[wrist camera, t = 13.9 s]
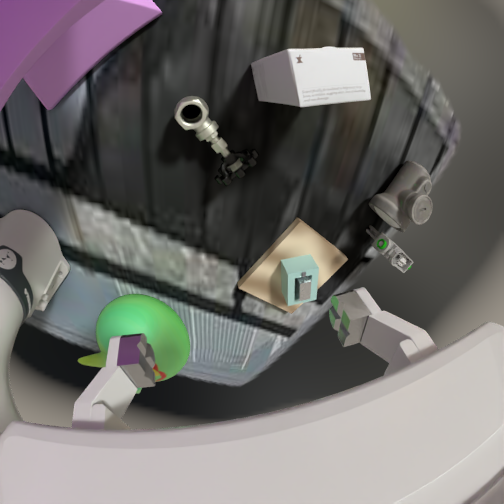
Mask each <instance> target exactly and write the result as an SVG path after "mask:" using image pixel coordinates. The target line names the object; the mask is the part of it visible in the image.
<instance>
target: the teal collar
mask: <svg viewBox="0 0 504 504" xmlns="http://www.w3.org/2000/svg"><path fill="white" fill-rule="evenodd" d="M318 274H319V267H318V265H317V264H316V262H315V261H314V259H313V257H312V256H311V254H309V255H303V256H298V257H293V258H288V259H283V260H281V286H282V294H283V296H284V298H285V301H286V303H287V305H288V306H291V305H295V304H299V303H304V302H308V301H312V300H316V296H317V285H318ZM306 276H309V278H310V280H311V281H312V282H311V295H310V299H307V300H302V301H299V299H298V297H297V295H296V293H295V278H300V277H306Z"/></svg>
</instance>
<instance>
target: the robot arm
mask: <svg viewBox="0 0 504 504" xmlns="http://www.w3.org/2000/svg"><path fill="white" fill-rule="evenodd" d="M60 271H61V272H60ZM69 271H70V266H69V264H68V262H67V261H66V259H65V258H64V256H63V255H62V252H61V249H60V245H59V242H58V239H57V237H56V235H55V233H54V232H53V230H52V229H51V227H50V226H49V225H48V224H47V223H46V222H45V221H44V220H43V219H42V218H41V217H39V216H38V215H36V214H34V213H32V212H30V211H27V210H14V211H11V212H9V213H8V214H7V215H5V216H4V217H3V218H0V504H504V327H503V326H501V325H499V324H496V323H493V322H485V323H484V324H482V325H480V326H479V327H477V328H476V329H474V330H472V331H471V332H469V333H467V334H466V335H464V336H462V337H461V338H459V339H458V340H456V341H454V342H452V343H450V344H449V345H447V346H445V347H443V348H441V349H438V348H437V347H436V345H435V344H434V342H433V341H432V340H431V338H430V337H429V335H428V334H427V332H426V331H425V330H423V329H421V328H419V327H417V326H415V325H413V324H411V323H409V322H407V321H405V320H403V319H401V318H398V317H396V316H395V315H392V314H390V313H388V312H386V311H381V310H380V308H379V307H378V305H377V304H376V303H375V301H374V300H373V298H372V297H371V296H370V294H369V293H368V292H367V290H366V289H365V288H364V287H362V288H359V289H355V290H351V291H347V292H344V293H340V294H336V295H333V296H332V299H331V303H332V304H333V306H332V307H331V308H330V314H329V315H330V321H331V324H332V326H333V328H334V329H335V330H337V331H339V332H338V338H339V339H340V341H341V343H342V345H343V347H346V346H349V345H353V344H356V343H359V342H360V343H361V344H362V345H364V346H365V347H367V348H368V349H370V350H371V351H372V352H374V353H375V354H377V355H378V356H380V357H381V358H383V359H384V360H385V361H387V362H389V363H390V364H389V366H388V368H387V370H386V371H385V373H384V375H385V376H382V377H380V378H377V379H375V380H372V381H370V382H368V383H365V384H362V385H359V386H357V387H354V388H352V389H349V390H346V391H343V392H340V393H337V394H334V395H331V396H328V397H324V398H322V399H318V400H315V401H311V402H308V403H305V404H301V405H297V406H293V407H290V408H286V409H282V410H278V411H274V412H270V413H265V414H260V415H255V416H251V417H245V418H241V419H235V420H229V421H223V422H217V423H210V424H202V425H194V426H185V427H174V428H160V429H141V430H131V428H130V427H129V426H128V425H127V424H125V423H124V422H123V421H122V420H121V418H122V417H123V415H124V413H125V411H126V409H127V407H128V406H129V404H130V402H131V400H132V398H133V397H134V395H135V393H136V391H137V390H138V389H137V388H143V387H152V386H155V372H154V371H153V369H152V368H153V367H154V366H155V355H154V351H153V348H152V346H151V345H150V344H149V343H147V337H146V336H145V334H144V333H140V334H130V335H122V336H112V337H111V338H110V341H109V347H108V353H107V360H106V367H103V368H102V369H101V370H100V371H99V373H98V374H97V375H96V377H95V378H94V379H93V380H92V382H91V383H90V384H89V385H88V387H87V388H86V389H85V390H84V392H83V393H82V394H81V396H80V397H79V398H78V400H77V401H76V402H75V405H74V413H73V421H72V428H68V427H58V426H50V425H42V424H36V423H29V422H24V421H23V419H22V417H21V415H20V413H19V411H18V409H17V407H16V404H15V401H14V398H13V395H12V391H11V387H10V380H9V362H10V357H11V352H12V348H13V345H14V342H15V338H16V335H17V333H18V330H19V327H20V326H21V325H22V324H23V323H24V321H25V320H26V319H27V318H29V317H31V315H32V313H33V311H34V310H42V311H44V310H45V308H46V306H47V304H48V302H49V301H50V299H51V298H52V296H53V295H54V293H55V292H56V290H57V289H58V287H59V286H60V284H61V283H62V281H63V280H64V278H65V277H66V276H67V274H68V273H69Z"/></svg>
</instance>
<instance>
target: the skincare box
mask: <svg viewBox="0 0 504 504" xmlns="http://www.w3.org/2000/svg"><path fill="white" fill-rule="evenodd" d="M251 67H252V72H253V77H254V81H255V86H256V91H257V96H258V100H259V101H265V102H272V103H280V104H287V105H293V106H299V107H308V106H317V105H326V104H335V103H344V102H355V101H365V100H370V99H371V97H370V87H369V80H368V73H367V67H366V61H365V56H364V49H363V48H335V47H323V48H315V49H287V50H284V51H281V52H279V53H276V54H273V55H271V56H268V57H265V58H263V59H260V60H258V61H255V62H253V63H251Z"/></svg>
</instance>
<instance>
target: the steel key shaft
mask: <svg viewBox="0 0 504 504" xmlns="http://www.w3.org/2000/svg"><path fill="white" fill-rule="evenodd" d="M311 282H312V281H311V280H310V278H309V276H306V277H300V278H295V293H296V295H297V297H298V299H299V301H302V300H307V299H310V295H311Z"/></svg>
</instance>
